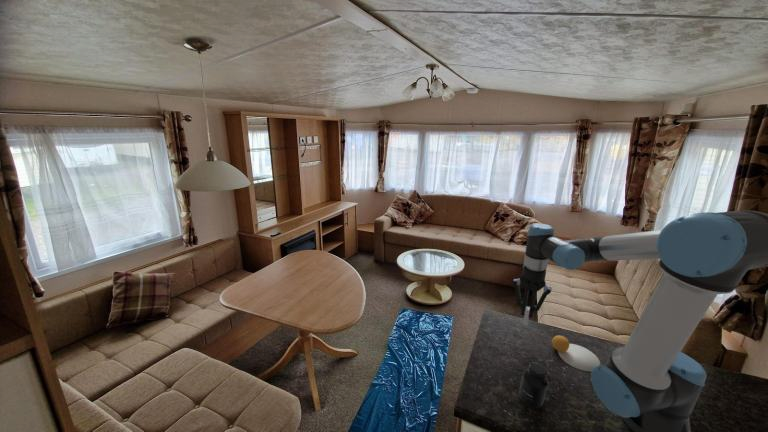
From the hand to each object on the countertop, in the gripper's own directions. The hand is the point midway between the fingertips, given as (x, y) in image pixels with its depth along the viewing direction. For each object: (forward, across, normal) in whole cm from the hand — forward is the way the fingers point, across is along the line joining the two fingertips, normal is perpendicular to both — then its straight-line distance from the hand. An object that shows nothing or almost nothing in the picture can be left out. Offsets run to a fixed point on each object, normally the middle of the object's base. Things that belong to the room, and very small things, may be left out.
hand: (525, 323), depth 117 cm
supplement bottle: (+8, -6, +27) cm, 29 cm away
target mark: (+7, -18, -1) cm, 20 cm away
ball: (+4, -12, -1) cm, 13 cm away
